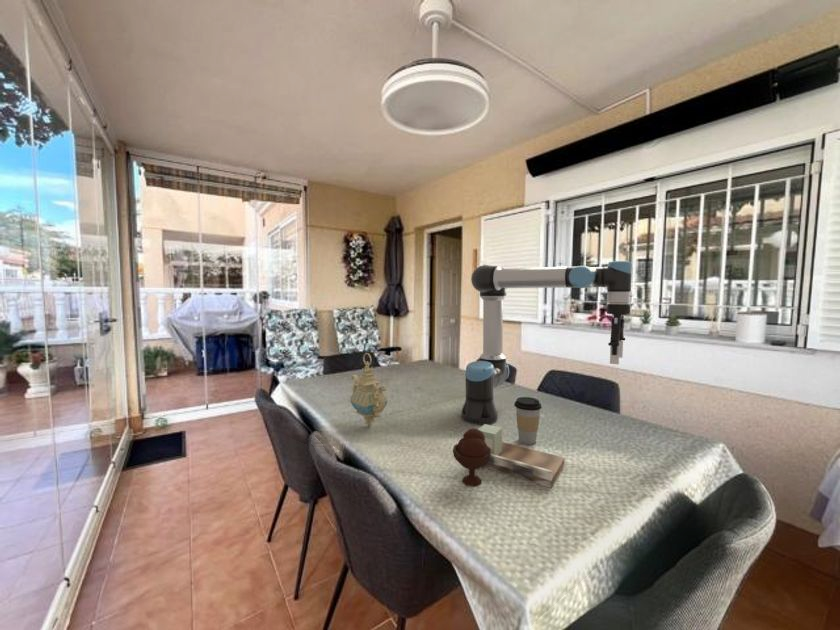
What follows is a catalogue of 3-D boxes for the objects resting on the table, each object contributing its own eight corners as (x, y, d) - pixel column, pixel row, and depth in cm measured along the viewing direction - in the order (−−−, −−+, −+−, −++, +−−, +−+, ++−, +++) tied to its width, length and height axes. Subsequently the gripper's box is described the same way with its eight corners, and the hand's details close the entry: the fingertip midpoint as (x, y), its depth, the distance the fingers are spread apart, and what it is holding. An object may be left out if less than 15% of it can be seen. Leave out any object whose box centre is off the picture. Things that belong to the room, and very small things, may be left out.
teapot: (342, 421, 148) (340, 350, 146) (366, 415, 156) (364, 347, 153) (372, 440, 130) (370, 359, 127) (397, 432, 137) (396, 355, 135)
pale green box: (476, 454, 114) (476, 430, 114) (484, 447, 119) (484, 424, 119) (494, 459, 111) (494, 434, 110) (501, 451, 116) (501, 427, 115)
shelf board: (472, 464, 112) (472, 450, 112) (492, 445, 125) (492, 432, 125) (550, 488, 99) (551, 472, 98) (564, 463, 112) (564, 450, 111)
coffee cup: (542, 447, 123) (543, 405, 122) (514, 445, 125) (515, 403, 124) (539, 436, 132) (539, 397, 131) (513, 434, 134) (513, 395, 133)
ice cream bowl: (449, 472, 107) (449, 424, 106) (485, 470, 108) (486, 422, 107) (456, 492, 97) (456, 439, 95) (496, 490, 98) (496, 437, 96)
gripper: (627, 305, 118) (624, 368, 120) (632, 302, 138) (630, 355, 140) (602, 304, 122) (600, 365, 124) (611, 301, 143) (609, 353, 144)
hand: (616, 360), depth 132 cm, fingers open, 13 cm apart
